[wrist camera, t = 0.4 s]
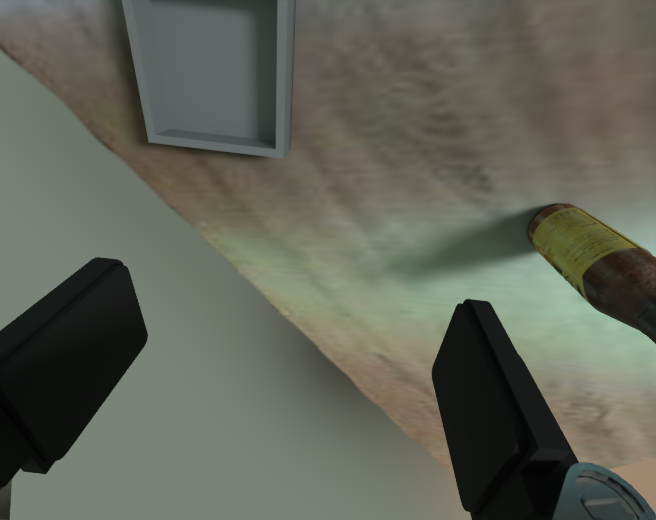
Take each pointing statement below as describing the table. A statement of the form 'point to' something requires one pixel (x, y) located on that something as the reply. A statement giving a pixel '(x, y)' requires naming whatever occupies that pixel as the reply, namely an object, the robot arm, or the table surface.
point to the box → (215, 72)
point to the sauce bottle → (599, 264)
